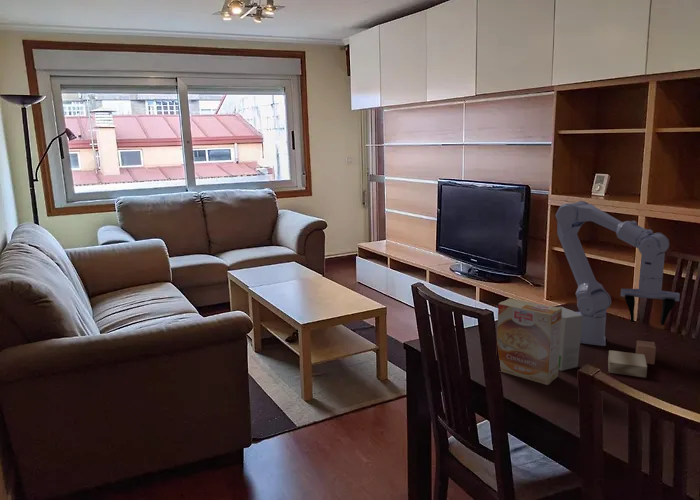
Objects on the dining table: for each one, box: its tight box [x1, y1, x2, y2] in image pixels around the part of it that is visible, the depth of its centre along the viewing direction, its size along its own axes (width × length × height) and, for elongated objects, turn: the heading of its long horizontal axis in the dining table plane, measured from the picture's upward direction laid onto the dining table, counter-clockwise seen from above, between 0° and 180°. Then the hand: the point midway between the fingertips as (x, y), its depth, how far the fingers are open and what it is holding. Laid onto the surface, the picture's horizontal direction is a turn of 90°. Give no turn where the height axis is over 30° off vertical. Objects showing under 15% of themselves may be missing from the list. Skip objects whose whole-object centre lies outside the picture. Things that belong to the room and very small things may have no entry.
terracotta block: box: [635, 339, 657, 365], centre depth 155 cm, size 4×4×5 cm
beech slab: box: [607, 349, 648, 378], centre depth 150 cm, size 9×9×3 cm
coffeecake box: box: [496, 297, 562, 386], centre depth 147 cm, size 15×7×20 cm, turn 47°
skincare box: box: [556, 306, 583, 372], centre depth 153 cm, size 8×7×16 cm
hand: (647, 322), depth 156 cm, fingers open, 7 cm apart
